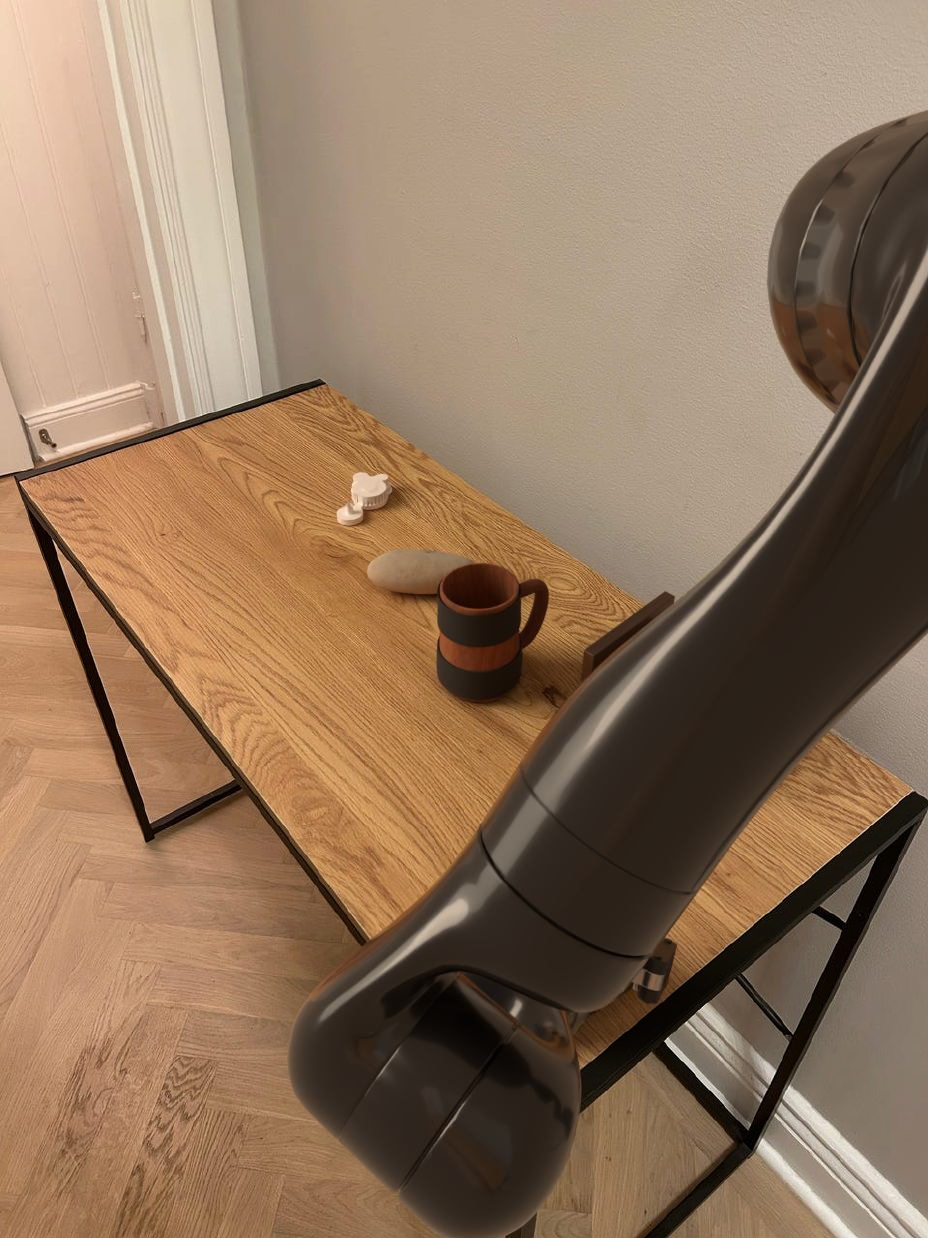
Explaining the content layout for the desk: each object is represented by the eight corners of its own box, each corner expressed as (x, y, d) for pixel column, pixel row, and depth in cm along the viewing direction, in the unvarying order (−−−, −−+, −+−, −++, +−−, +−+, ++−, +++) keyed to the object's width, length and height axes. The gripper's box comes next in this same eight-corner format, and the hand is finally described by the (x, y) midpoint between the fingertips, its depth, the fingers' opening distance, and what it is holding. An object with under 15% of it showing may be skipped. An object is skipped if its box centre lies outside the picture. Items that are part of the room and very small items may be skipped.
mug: (566, 677, 95) (574, 587, 87) (461, 718, 91) (459, 626, 83) (523, 628, 101) (527, 539, 93) (422, 664, 97) (418, 574, 89)
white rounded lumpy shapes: (327, 488, 123) (326, 474, 121) (392, 478, 124) (391, 464, 123) (339, 527, 116) (337, 513, 114) (407, 516, 117) (406, 502, 116)
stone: (365, 553, 107) (465, 521, 106) (383, 603, 109) (482, 572, 108) (359, 569, 102) (465, 536, 100) (379, 621, 104) (483, 589, 102)
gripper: (678, 944, 47) (690, 891, 63) (420, 857, 52) (491, 828, 67) (641, 1090, 47) (663, 1001, 63) (385, 991, 51) (464, 931, 67)
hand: (574, 912), depth 65 cm, fingers open, 8 cm apart
